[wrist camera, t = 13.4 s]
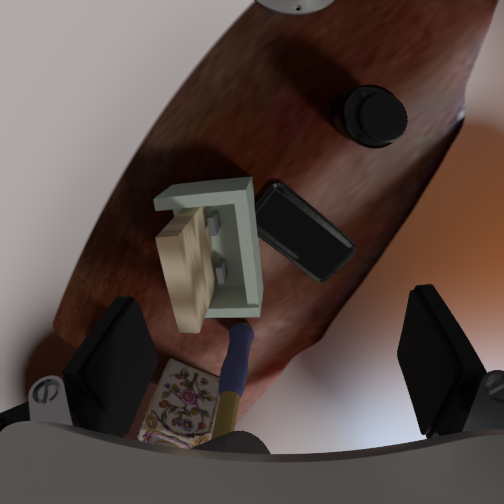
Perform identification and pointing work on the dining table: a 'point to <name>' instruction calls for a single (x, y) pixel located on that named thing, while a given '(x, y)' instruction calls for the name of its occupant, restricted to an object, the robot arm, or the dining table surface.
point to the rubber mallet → (233, 398)
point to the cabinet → (226, 240)
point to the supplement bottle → (369, 116)
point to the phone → (301, 233)
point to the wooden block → (188, 266)
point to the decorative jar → (181, 407)
